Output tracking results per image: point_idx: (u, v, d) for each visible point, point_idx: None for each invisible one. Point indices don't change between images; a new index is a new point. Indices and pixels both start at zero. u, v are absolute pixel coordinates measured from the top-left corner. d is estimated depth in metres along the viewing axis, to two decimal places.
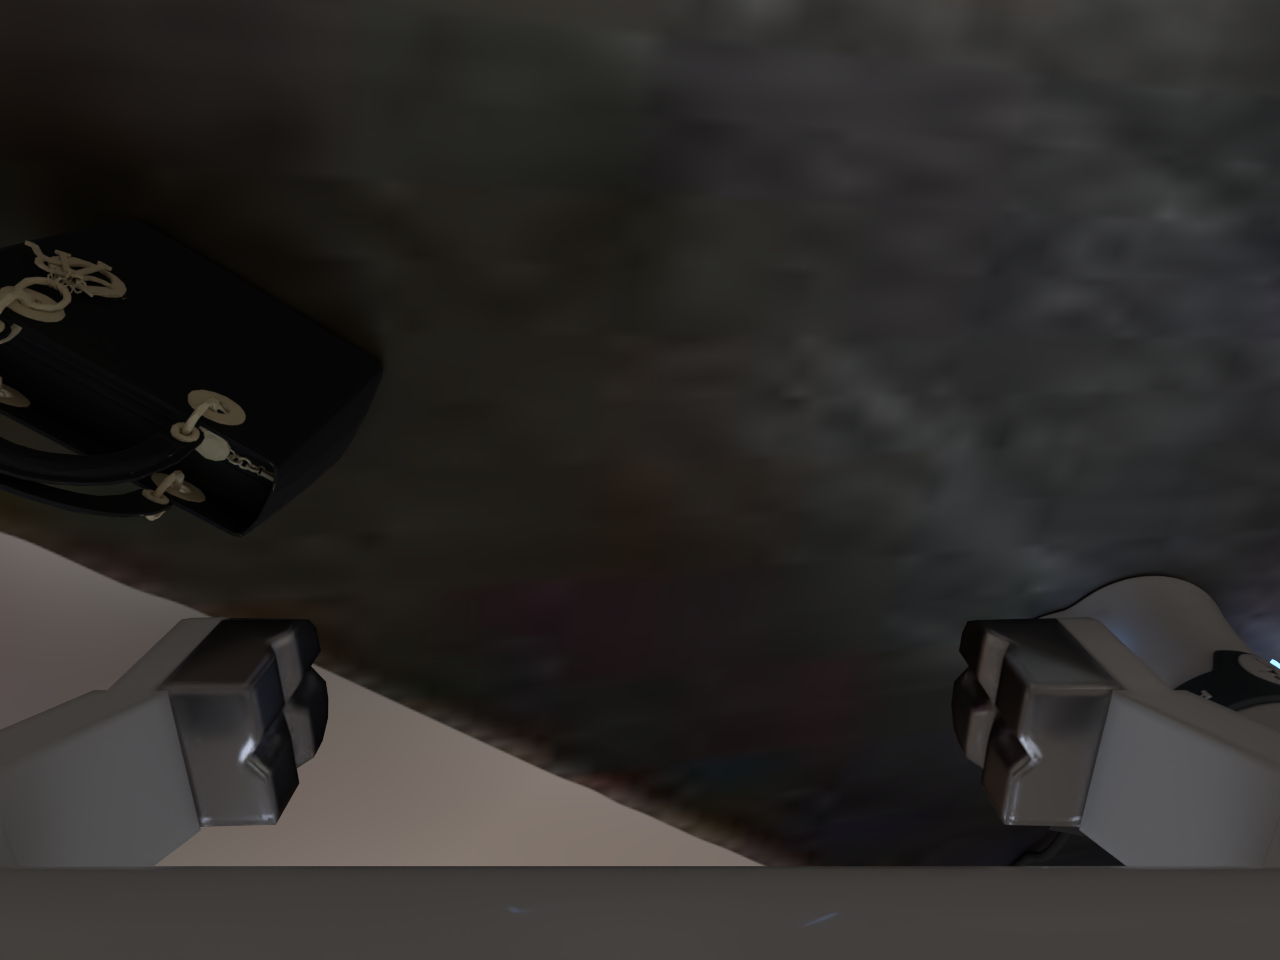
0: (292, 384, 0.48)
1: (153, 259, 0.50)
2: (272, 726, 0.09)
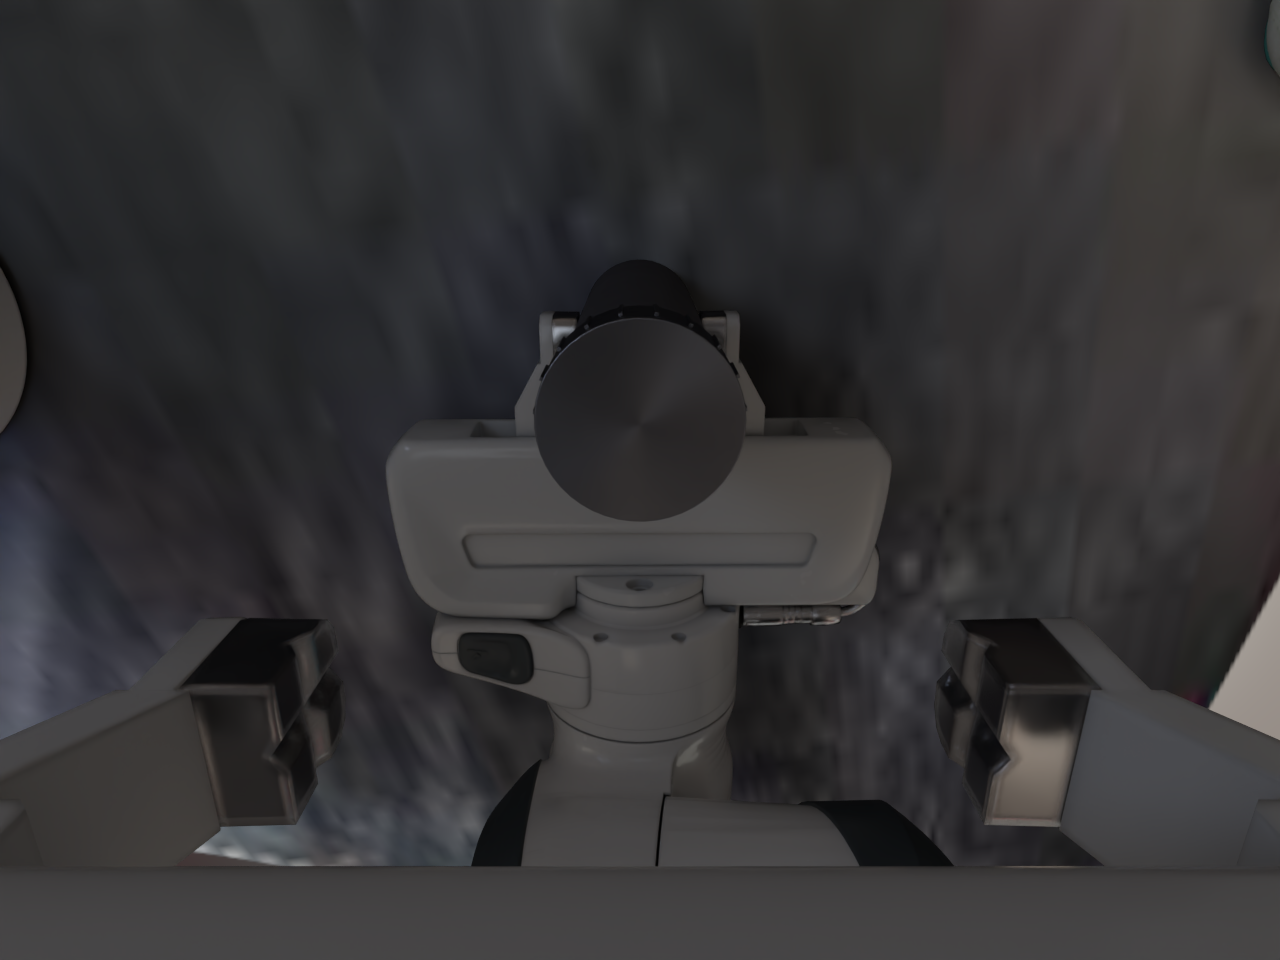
0: None
1: None
2: (291, 726, 0.09)
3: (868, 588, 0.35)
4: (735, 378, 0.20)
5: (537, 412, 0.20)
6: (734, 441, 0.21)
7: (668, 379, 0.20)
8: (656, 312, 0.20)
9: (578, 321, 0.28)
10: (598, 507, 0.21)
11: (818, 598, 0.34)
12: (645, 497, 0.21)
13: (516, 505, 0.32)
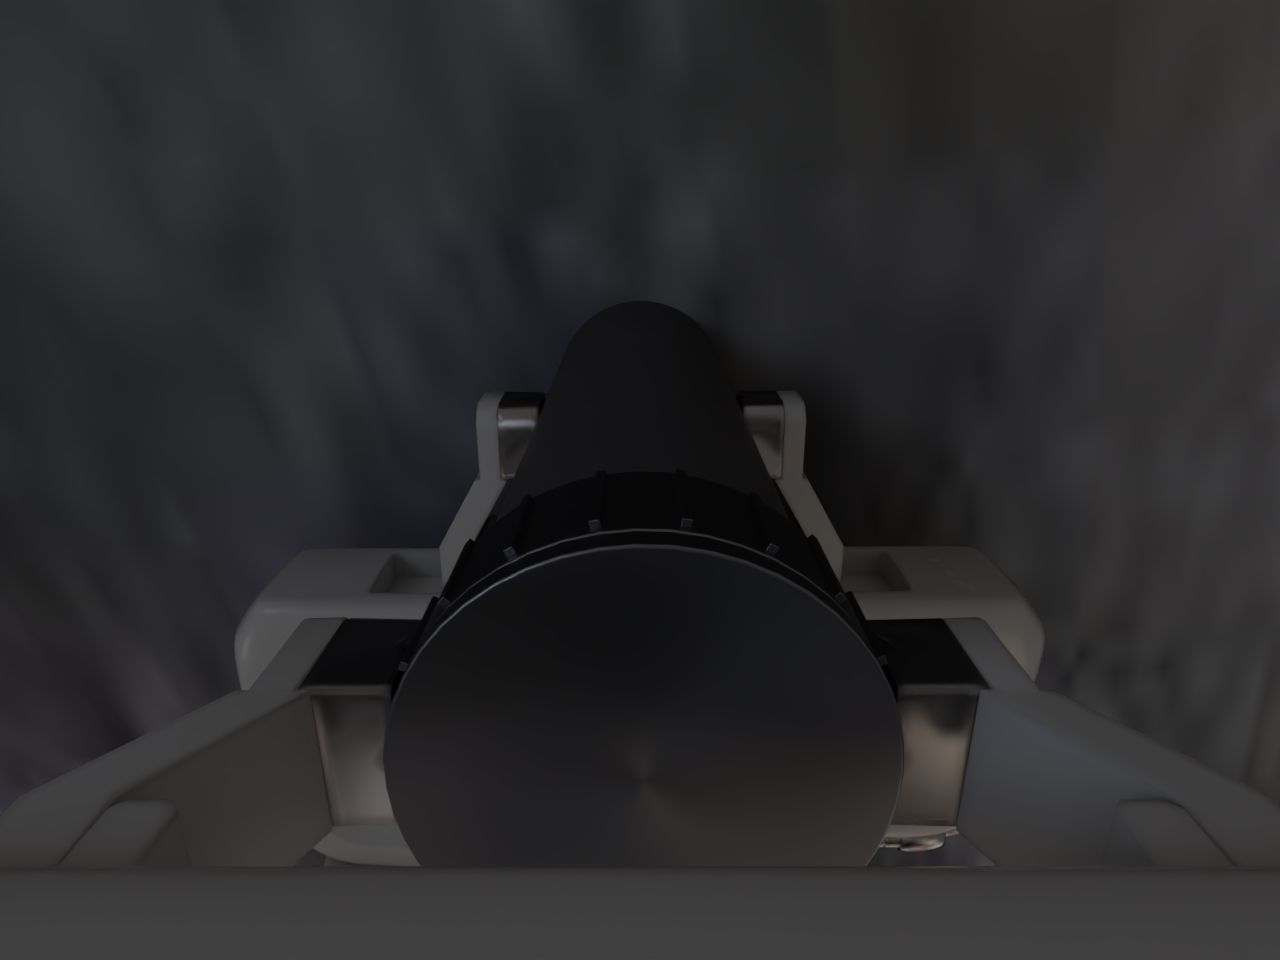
0: None
1: None
2: None
3: None
4: (884, 683, 0.08)
5: (391, 755, 0.08)
6: (872, 815, 0.09)
7: (714, 687, 0.08)
8: (686, 518, 0.08)
9: (533, 431, 0.16)
10: None
11: (918, 830, 0.22)
12: None
13: None
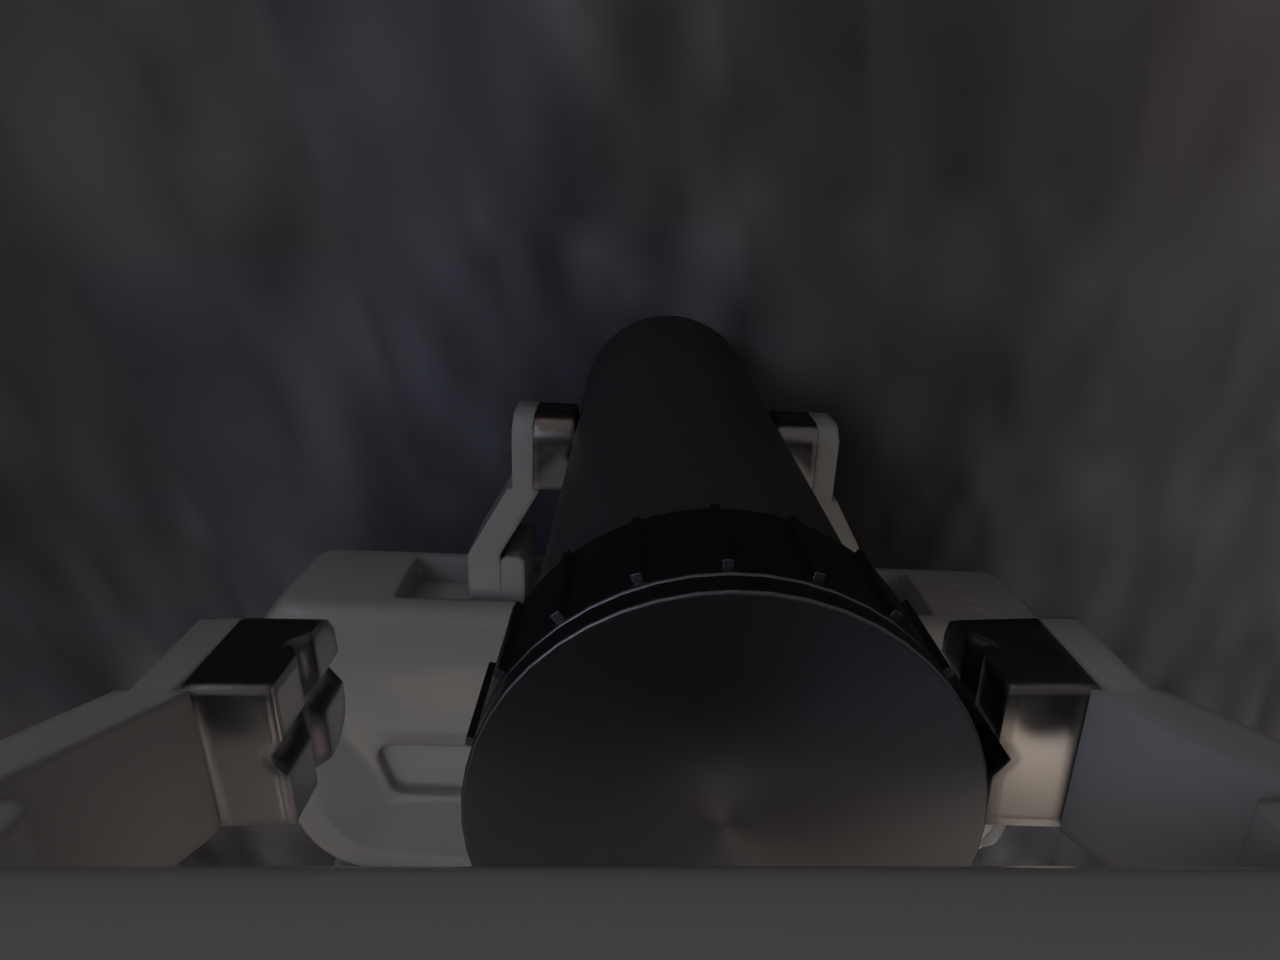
0: None
1: None
2: (291, 726, 0.09)
3: (995, 825, 0.23)
4: (722, 595, 0.07)
5: None
6: (880, 656, 0.08)
7: (650, 736, 0.08)
8: (495, 672, 0.08)
9: (577, 446, 0.16)
10: None
11: None
12: None
13: (466, 706, 0.20)
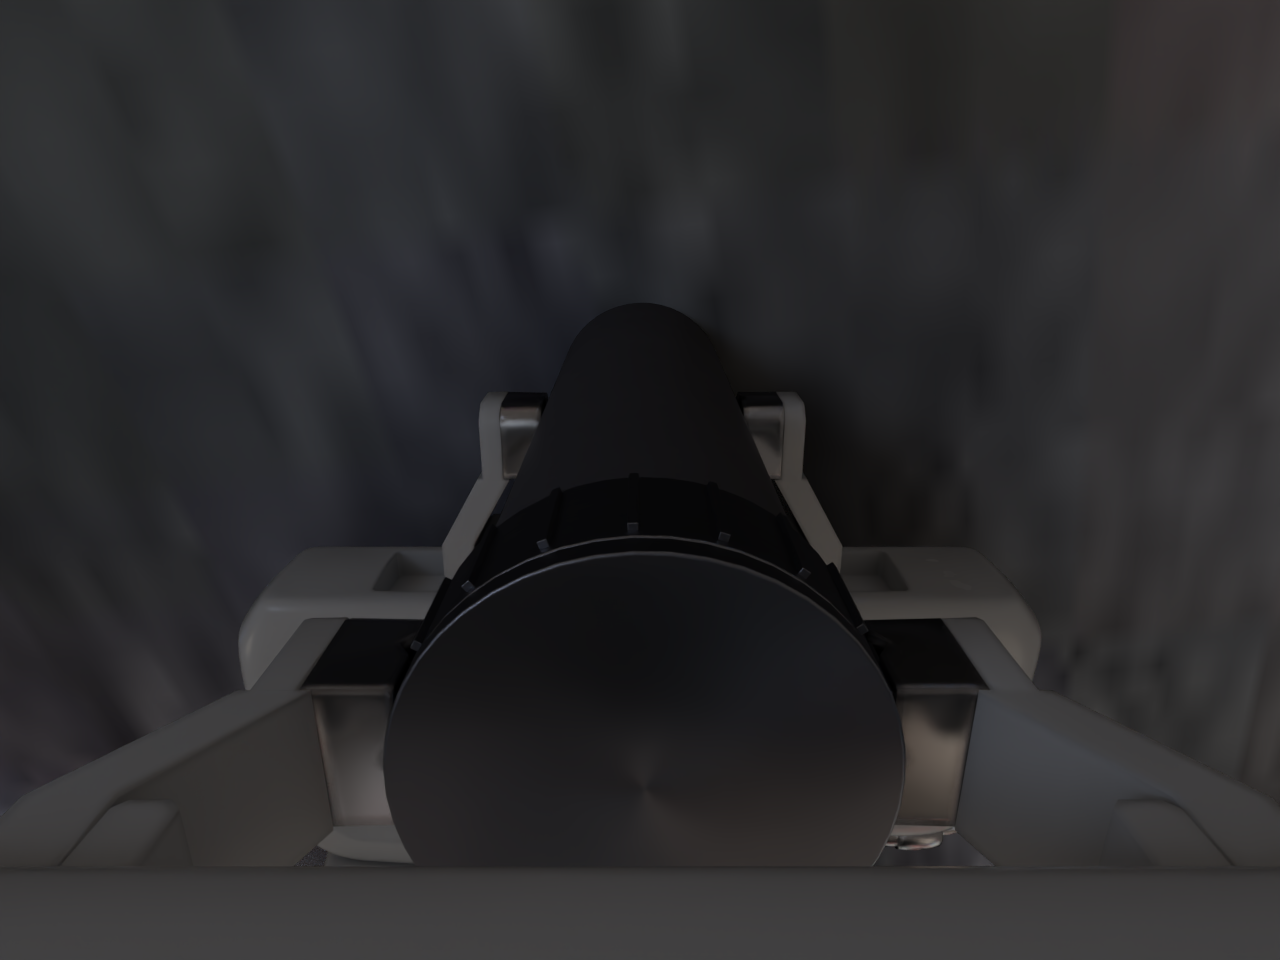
0: None
1: None
2: None
3: None
4: (621, 556, 0.07)
5: None
6: (785, 612, 0.08)
7: (563, 701, 0.08)
8: (413, 644, 0.08)
9: (535, 431, 0.16)
10: None
11: (915, 829, 0.22)
12: (823, 835, 0.09)
13: None
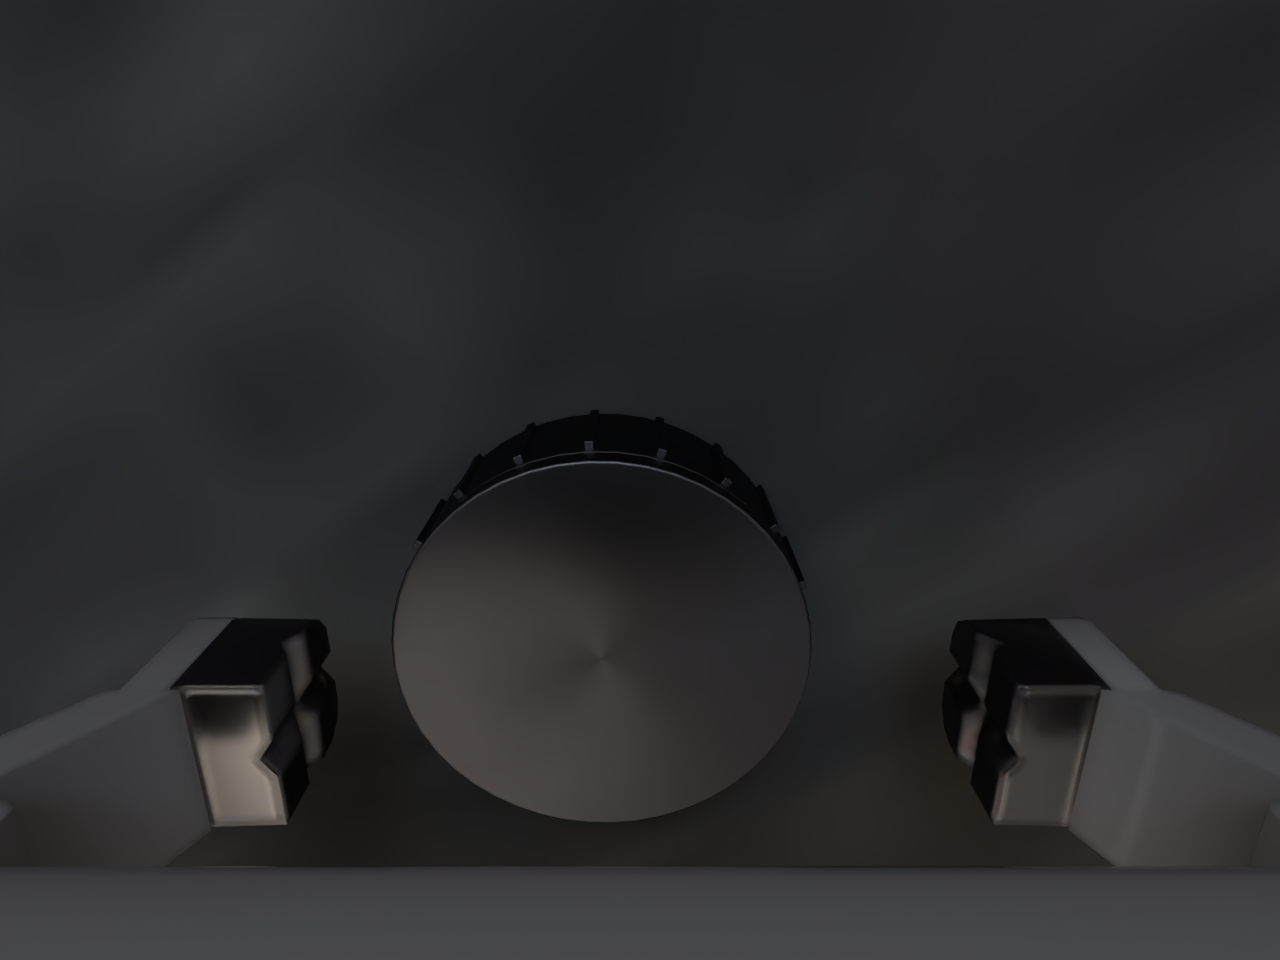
0: None
1: None
2: (283, 726, 0.09)
3: None
4: (578, 464, 0.09)
5: (514, 800, 0.11)
6: (708, 509, 0.10)
7: (534, 584, 0.10)
8: (415, 543, 0.10)
9: None
10: (728, 775, 0.11)
11: None
12: (747, 698, 0.11)
13: None
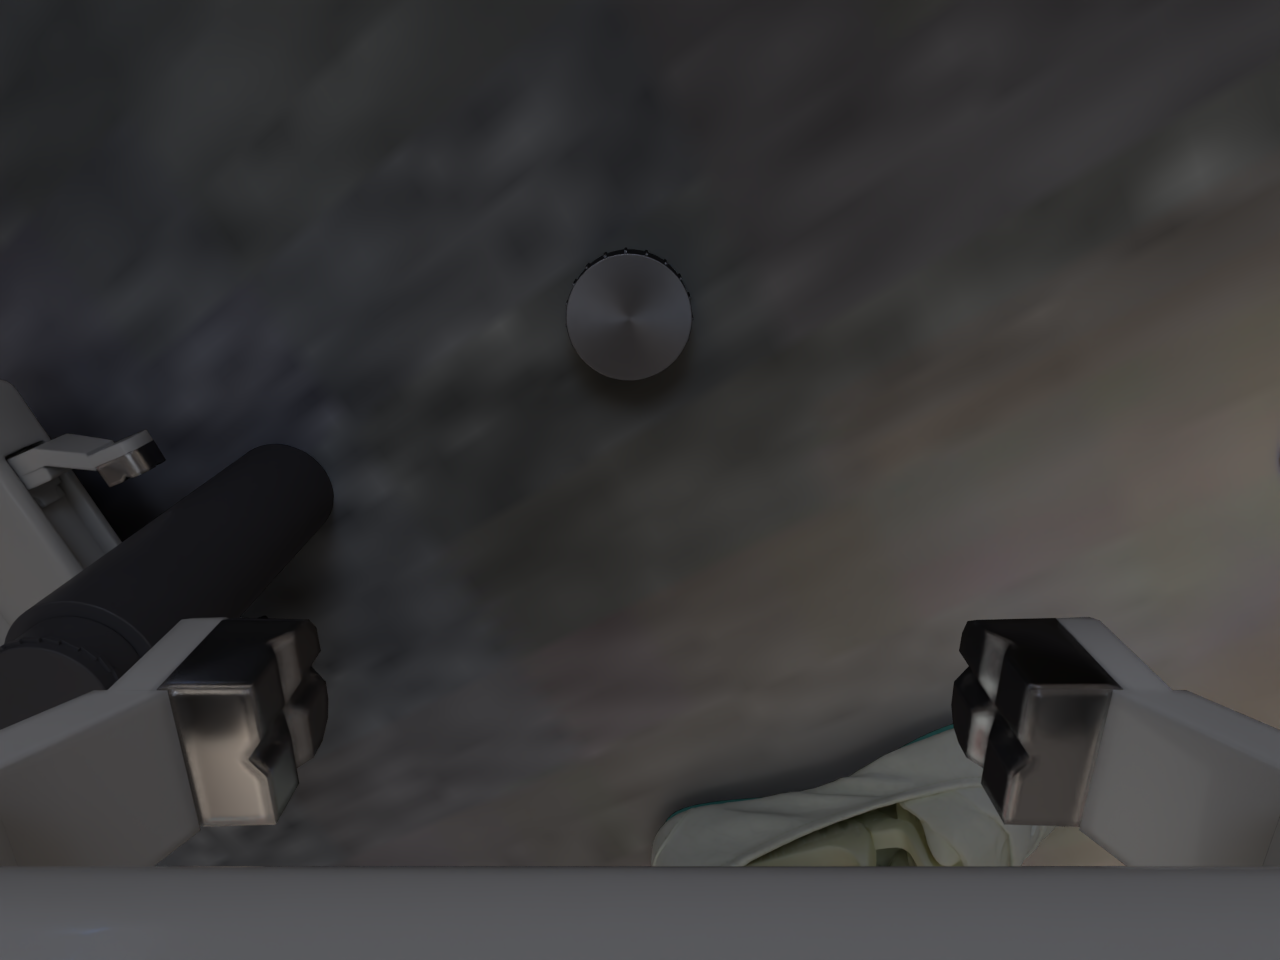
0: None
1: None
2: (272, 726, 0.09)
3: None
4: (623, 254, 0.33)
5: (600, 371, 0.35)
6: (660, 268, 0.34)
7: (609, 293, 0.34)
8: (572, 284, 0.34)
9: (181, 520, 0.30)
10: (668, 361, 0.35)
11: None
12: (673, 332, 0.35)
13: None
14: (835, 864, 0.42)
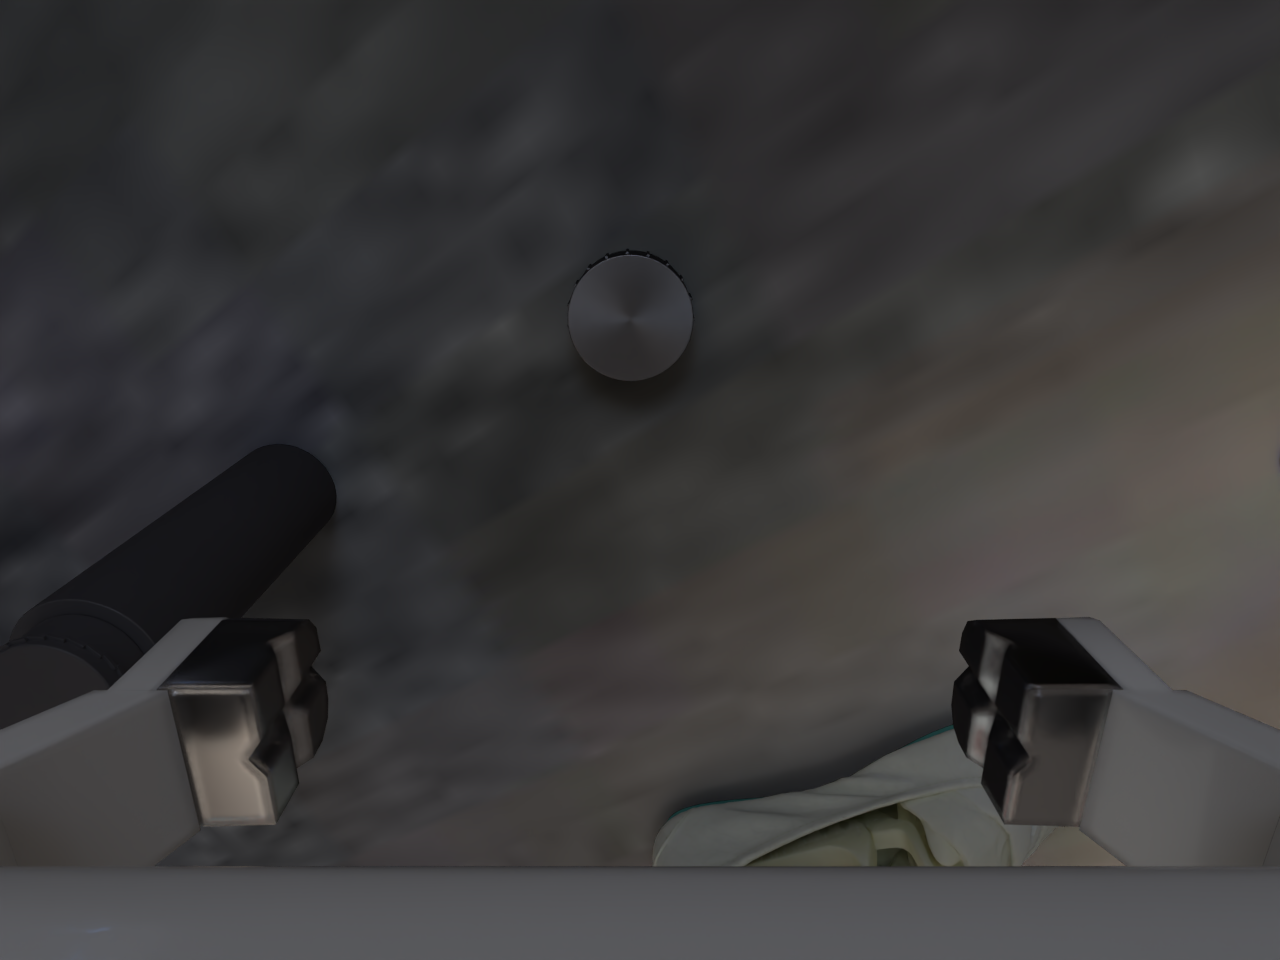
0: None
1: None
2: (272, 726, 0.09)
3: None
4: (624, 256, 0.34)
5: (602, 372, 0.35)
6: (661, 269, 0.34)
7: (611, 294, 0.34)
8: (574, 285, 0.34)
9: (185, 519, 0.30)
10: (669, 362, 0.35)
11: None
12: (674, 333, 0.35)
13: None
14: (836, 864, 0.42)
